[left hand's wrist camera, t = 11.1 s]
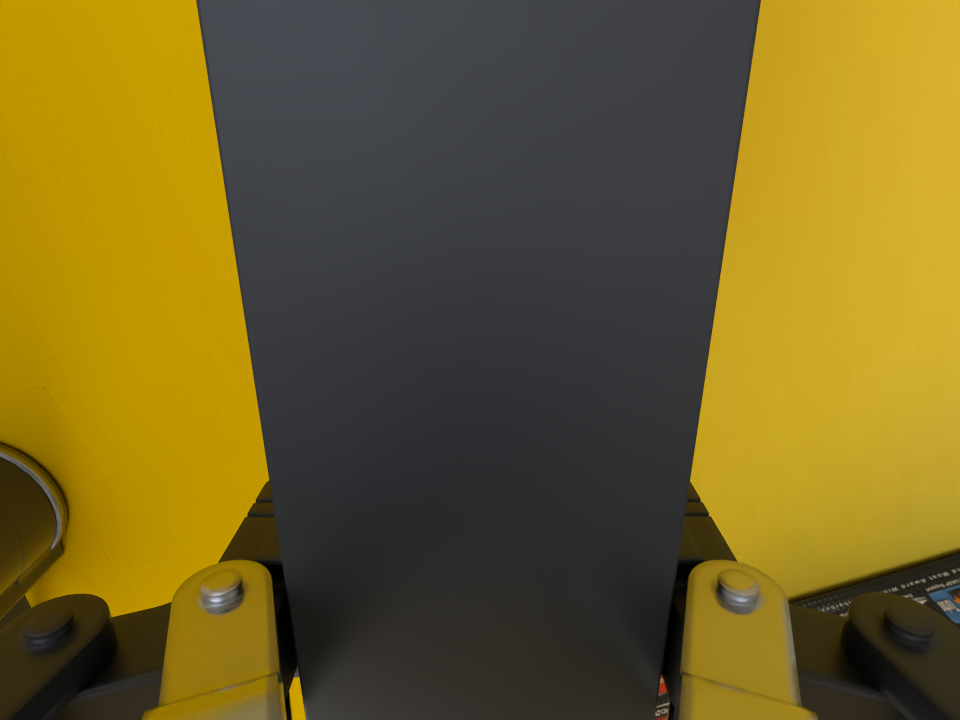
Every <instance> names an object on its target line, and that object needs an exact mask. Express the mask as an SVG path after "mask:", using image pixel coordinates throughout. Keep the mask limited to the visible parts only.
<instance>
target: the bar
mask: <svg viewBox="0 0 960 720" xmlns="http://www.w3.org/2000/svg"><path fill="white" fill-rule="evenodd" d="M196 1H197V8H198V15H199V21H200V28H201V34H202V41H203V47H204V54H205V60H206V67H207V74H208V80H209V87H210V93H211V100H212V106H213V113H214V119H215V126H216V133H217V139H218V146H219V152H220V159H221V165H222V172H223V178H224V185H225V192H226V198H227V205H228V211H229V218H230V224H231V231H232V237H233V244H234V251H235V257H236V264H237V270H238V277H239V283H240V290H241V296H242V303H243V310H244V316H245V323H246V329H247V336H248V342H249V349H250V355H251V362H252V369H253V375H254V382H255V388H256V395H257V401H258V408H259V414H260V421H261V428H262V434H263V441H264V447H265V454H266V460H267V467H268V473H269V480H270V487H271V493H272V500H273V506H274V513H275V519H276V526H277V532H278V539H279V546H280V552H281V559H282V565H283V572H284V578H285V585H286V591H287V598H288V605H289V611H290V618H291V624H292V631H293V637H294V644H295V650H296V657H297V664H298V670H299V677H300V683H301V690H302V696H303V703H304V709H305V716H306V720H655V713H656V706H657V700H658V693H659V686H660V679H661V672H662V666H663V659H664V652H665V645H666V639H667V632H668V625H669V618H670V612H671V605H672V598H673V591H674V585H675V578H676V571H677V564H678V557H679V551H680V544H681V537H682V530H683V524H684V517H685V510H686V503H687V497H688V490H689V483H690V476H691V469H692V463H693V456H694V449H695V442H696V436H697V429H698V422H699V415H700V409H701V402H702V395H703V388H704V381H705V375H706V368H707V361H708V354H709V348H710V341H711V334H712V327H713V321H714V314H715V307H716V300H717V293H718V287H719V280H720V273H721V266H722V260H723V253H724V246H725V239H726V233H727V226H728V219H729V212H730V205H731V199H732V192H733V185H734V178H735V172H736V165H737V158H738V151H739V145H740V138H741V131H742V124H743V118H744V111H745V104H746V97H747V90H748V84H749V77H750V70H751V63H752V57H753V50H754V43H755V36H756V30H757V23H758V16H759V9H760V2H761V0H196Z"/></svg>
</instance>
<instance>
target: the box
mask: <svg viewBox="0 0 960 720" xmlns="http://www.w3.org/2000/svg"><path fill="white" fill-rule="evenodd" d="M869 592H884V593H891V594H895V595H900V596H903V597H906V598H909V599H912V600H914V601H917V602H919V603H921V604H923V605H925V606H927V607H929V608H931V609H933V610H934V611H936V612H937V613H939V614H940V615H942V616H943V617H945V618H946V619H947V620H949V621H950V622H951V623H952V624H954V625H955V626H956V627H957V628H959V629H960V554H957V555H953V556H950V557H946V558H943V559H940V560H937V561H933V562H929V563H926V564H922V565H920V566H917V567H913V568H910V569H906V570H903V571H899V572H896V573H893V574H890V575H886V576H883V577H880V578H876V579H873V580H869V581H866V582H862V583H859V584H856V585H852V586H849V587H845V588H841V589H838V590H835V591H832V592H828V593H825V594H822V595H819V596H815V597H811V598H808V599H805V600H802V601H798V602H795V603H792V604H794V605H797V606H801V607H805V608H809V609H814V610H818V611H822V612H827V613H831V614H835V615H840V616H844V617H846V615H847V612H848V608H849V605H850V603H851V601H852V600H853V599H854V598H855V597H857V596H858V595H860V594H864V593H869ZM669 700H670V698H669V695H668V692H667V689H666V686H665V683H664V680H663V677H662V676H661V679H660V686H659V693H658V700H657V706H656V713H655V720H667V714H668V706H669Z"/></svg>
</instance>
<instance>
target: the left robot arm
mask: <svg viewBox="0 0 960 720" xmlns="http://www.w3.org/2000/svg"><path fill="white" fill-rule="evenodd" d="M66 526H67V509H66V505H65V501H64V499H63V496H62V494H61V492H60V490H59V489H58V487H57V485H56V484H55V482H54V481H53V480H52V479H51V477H50V476H49V475H48V474H47V473H46V472H45V471H44V470H43V469H42V468H41V467H40V466H39V465H37V464H36V463H35V462H34V461H32V460H31V459H30V458H28V457H26V456H25V455H23V454H22V453H20V452H18V451H16V450H14V449H12V448H10V447H7V446H5V445H2V444H0V720H293V714H292V706H291V700H290V693H289V690H290V687H291V684H292V681H293V678H294V677H299V670H298V664H297V657H296V650H295V644H294V637H293V631H292V624H291V618H290V611H289V605H288V598H287V591H286V585H285V578H284V572H283V565H282V559H281V552H280V546H279V539H278V532H277V526H276V519H275V513H274V506H273V500H272V493H271V487H270V480H269V481H268V482H267V483H266V484H265V485H264V487H263V489H262V490H261V492H260V494H259V495H258V497H257V499H256V503H254V504H253V505H252V507H251V509H250V510H249V512H248V516H247V517H245V519H244V520H243V522H242V524H241V525H240V527H239V529H238V530H237V532H236V534H235V535H234V537H233V539H232V540H231V542H230V544H229V545H228V547H227V549H226V550H225V552H224V554H223V555H222V557H221V559H220V561H219V562H218V563H217V564H214V565H211V566H209V567H206V568H204V569H202V570H200V571H198V572H197V573H195V574H194V575H192V576H191V577H189V578H188V579H187V580H186V581H185V582H184V583H183V584H182V585H181V586H180V587H179V588H178V590H177V591H176V593H175V595H174V596H173V599H172V602H170V603H167V604H165V605H162V606H158V607H155V608H151V609H146V610H142V611H138V612H133V613H129V614H125V615H120V616H116V617H112V618H111V614H110V611H109V607H108V605H107V603H106V602H105V601H104V600H103V599H102V598H100V597H98V596H95V595H90V594H73V595H66V596H62V597H58V598H54V599H51V600H48V601H46V602H43V603H41V604H38V605H36V606H34V607H32V608H31V606H30V604H29V602H28V600H27V598H26V597H25V594H26V593H27V592H28V591H29V590H30V589H31V588H32V586H33V585H34V584H35V583H36V582H37V581H38V580H39V579H40V578H41V577H42V576H43V575H44V574H45V573H46V572H47V571H48V570H49V569H50V568H51V567H52V566H53V565H54V563H55V562H56V561H57V560H58V559H59V558H60V557H61V556H62V555H63V554H64V550H63V548H62V546H61V542H60V540H61V539H62V537H63V535H64V533H65V530H66ZM661 676H662V677H663V680H664V683H665V686H666V689H667V692H668V695H669V698H670V700H669V706H668V714H667V720H960V629H959V628H957V627H956V626H955V625H954V624H952V623H951V622H950V621H949V620H947V619H946V618H945V617H943V616H942V615H940V614H939V613H937V612H936V611H934V610H933V609H931V608H929V607H927V606H925V605H923V604H921V603H919V602H917V601H914V600H912V599H909V598H906V597H903V596H900V595H895V594H891V593H884V592H869V593H864V594H860V595H858V596H857V597H855V598H854V599H853V600H852V601H851V603H850V605H849V608H848V612H847V615H846V617H844V616H840V615H835V614H831V613H827V612H822V611H818V610H814V609H809V608H805V607H801V606H797V605H794V604H791V603H788V599H787V596H786V594H785V593H784V591H783V590H782V588H781V587H780V586H779V585H778V584H777V583H776V582H775V581H774V580H773V579H772V578H771V577H769V576H768V575H766V574H765V573H763V572H762V571H760V570H758V569H756V568H754V567H751V566H749V565H746V564H743V563H739V562H737V560H736V558H735V557H734V555H733V553H732V552H731V550H730V548H729V546H728V545H727V543H726V541H725V540H724V538H723V536H722V535H721V533H720V531H719V529H718V528H717V526H716V524H715V523H714V521H713V519H712V518H711V517H709V513H708V511H707V509H706V507H705V506H704V504H703V502H701V499H700V497H699V496H698V494H697V492H696V490H695V489H694V487H693V485H692V484H691V482H690V483H689V490H688V497H687V503H686V510H685V517H684V524H683V530H682V537H681V544H680V551H679V557H678V564H677V571H676V578H675V585H674V591H673V598H672V605H671V612H670V618H669V625H668V632H667V639H666V645H665V652H664V659H663V666H662V672H661Z"/></svg>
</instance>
